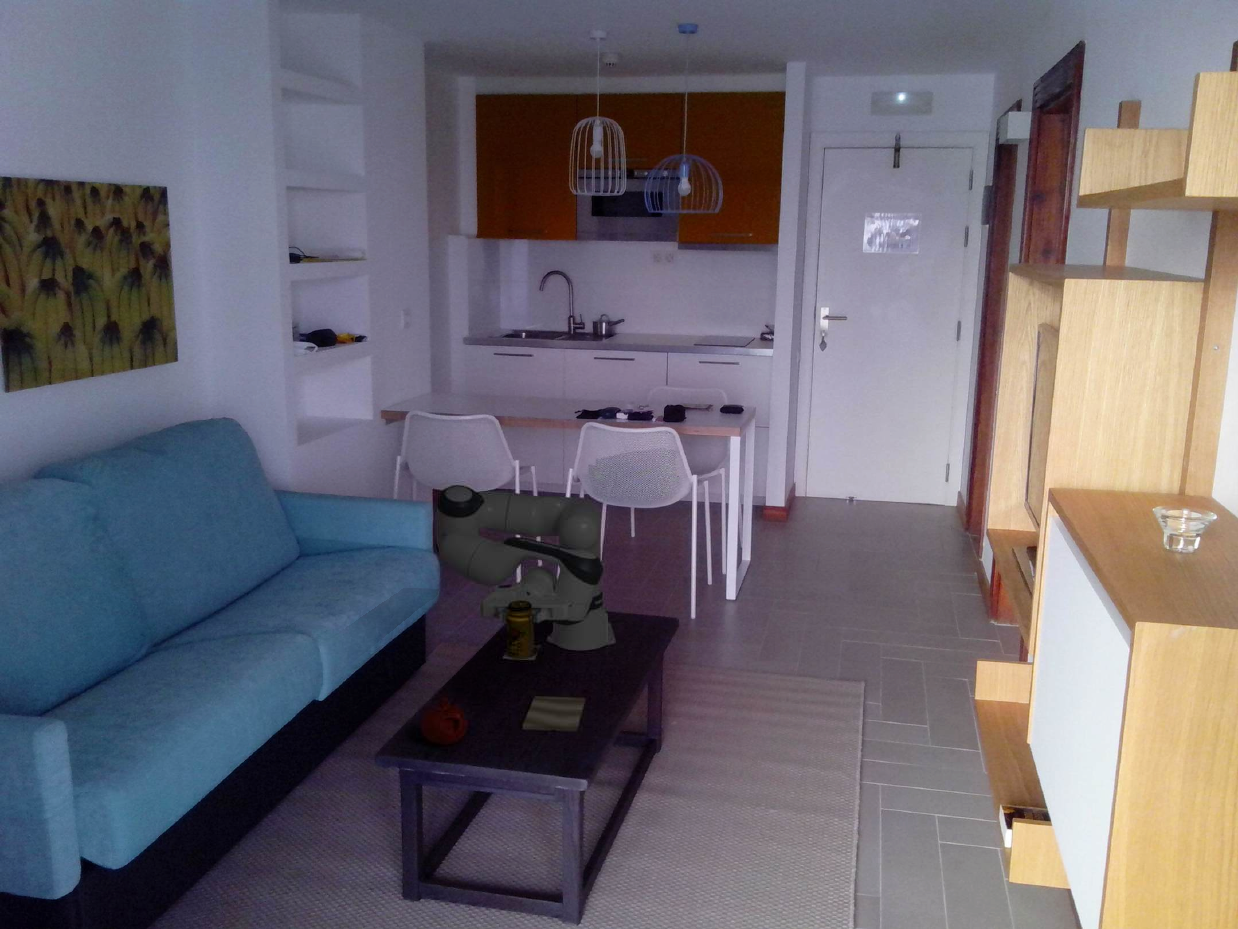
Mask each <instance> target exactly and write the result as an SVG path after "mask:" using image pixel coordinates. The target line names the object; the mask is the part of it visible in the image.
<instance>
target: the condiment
mask: <svg viewBox="0 0 1238 929" xmlns="http://www.w3.org/2000/svg"><path fill="white" fill-rule="evenodd" d="M534 626H535V623H533V614H532V605H531V603H530V602H528V601H513V602H511V603H509V605H508V615H507V622H506V651H505V653H504V655H503V656H502V659H503V660H504V659H507V660H515V661H518V660H520V661H525V660H526V661H527V660H528V661H535V660H536V657H537V656H538V653H539V651H540V649H541V646H542V644H541V645H535V639H534V638H535V637H534V636H535V634H534V632H535V629H534Z"/></svg>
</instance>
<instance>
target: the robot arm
mask: <svg viewBox="0 0 1238 929" xmlns="http://www.w3.org/2000/svg"><path fill="white" fill-rule="evenodd" d="M436 506H437V508H436V513H435V521H434V526H435V549H436V550H435V551H436V553H437V556H438V558H439V559H440V561H441V562H442V563H443V564H444V565H445V566H447V567H448V568H450V569H451V570H453V571H454V572H455V573H457V574H459V575H460V576H462V577H464V578H466V579H468V580H470V581H472V582H474V583H476V584H479V585H481V586H485V587H493V589H492V592H490V593H488V594H486V596H484V598H483V599H482V601H481V602H480V616H481V618H483V619H489V620H490V619H494V620H496V619H497V620H499V622H500V623H507V615H508V605H509V603H511V602H513V601H528V602H530V603H531V605H532V614H533V623H534V624H540V623H541V622H542V621H550V622H552V623H553V624H552V626H553V627H552V628H553V629H552V632H551V633H550V634H549V635H548V636H547V638H546V642H549V643H551V644H553V645H556V646H557V647H558V648H561V649H565V650H570V651H589V650H591V651H593V650H595V649H596V650H597V649H600V648H602V647H604V646H609V645H614V644H616V643H617V641H616V637H615V633H614V629H613V626H612V623H611V622H608V621H609V620H608V619H609V618H608V616H609V615H608V613H607V611H606V610H605V607H604V594H603V590H602V575H603V573H604V572H605V571H604V566H603V564H602V558H601V556H602V555H601V553H602V547H601V546H602V543H601V541H602V540H601V539H602V538H601V537H602V535H601V534H602V533H601V530H602V529H601V528H602V526H601V524H602V523H601V522H602V521H601V514H600V513H601V512H600V510H599V507H598V505H596V503H595V502H593V501H592V500H591V499H589V498H586V497H569V496H540V495H533V494H532V495H531V494H525V493H524V494H523V493H517V492H510V491H501V490H498V491H497V490H487V491H486V490H482V491H475V489H473V488H471V487H468V486H466V485H463V484H455V485H450V486H448V487H446V488H443V490H441V491H440V493H439V496H438V499H437V502H436ZM483 529H484V530H488V531H491V532H496V533H501V534H508V535H514V536H511V537H507V538H506V539H505V540H504V541H493V540H491V539H488V538H486V537H485V536H481V535H479V531H480V530H483ZM519 536H521V537H519ZM526 537H528V538H526ZM539 537H558V545H557V544H553V543H548V542H544V541H540V540H534V539H531V538H539ZM527 559H534V560H536V561H541V562H545V563H548V564H553V565H557V566H558V567H559V572H558V575H557V577H556V574H555V573H554V572H553V570H552V569H550V568H549V567H545V566H537V567H534V568H531V569H529V570H528V571H527V572H525V574H524V575H523V576H522V578H521V579H520V581H518V582H514V583H511V584H504V582H506V581H507V580H508V579H510V578H511V577H512V576H513V575H514V574H515V572H516V571H517V569H518V568H519V567H520V566H521V565H522V563H523V562H524V561H526V560H527ZM502 583H503V584H504V585H503V584H502ZM500 584H501V585H500Z"/></svg>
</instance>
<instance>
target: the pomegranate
mask: <svg viewBox="0 0 1238 929" xmlns="http://www.w3.org/2000/svg"><path fill="white" fill-rule="evenodd" d="M441 701H442V704H441V703H439V702H438V701H434V700H433V703H434V704H437V705H438V706H436V705H433V704H432V705H430V706H429V707H428V708H427V711H425V712H424V713H423V715H422V720H421V722H420V729H421V734H422V735H423V736H424V737H425V739H426V740H427V741H429V742H431V743H432V744H435V745H443V746H445V745H446V746H447V745H453V744H455V743H457V742H459V741H460V740H461V739H462V738H463V737H464V736H465V734H466V731H467V728H468V720H467V718H466V716H465V714H464V712H463V710H462V709H463V707H460V706H459V705H450V704H451V703H452V702H454V701H453V700H449V701H448V697H442V698H441Z"/></svg>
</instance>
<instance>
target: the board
mask: <svg viewBox="0 0 1238 929" xmlns="http://www.w3.org/2000/svg"><path fill="white" fill-rule="evenodd" d="M585 704H586V698H584V697H567V696H566V697H565V696H564V697H563V696H562V697H561V696H537V695H536V696H533V700H532V702H531V704H530V707H529V709H528V711H527V714H526V717H525V719H524V721H523V724H522V730H527V731H528V730H529V731H530V730H531V731H532V730H533V731H551V730H556V731H557V732H577V731H578V728H577V727H579V724H580V720H581V718H582V715H583V711H584V708H585ZM583 707H584V708H583ZM582 710H583V711H582ZM556 731H555V732H556Z"/></svg>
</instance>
